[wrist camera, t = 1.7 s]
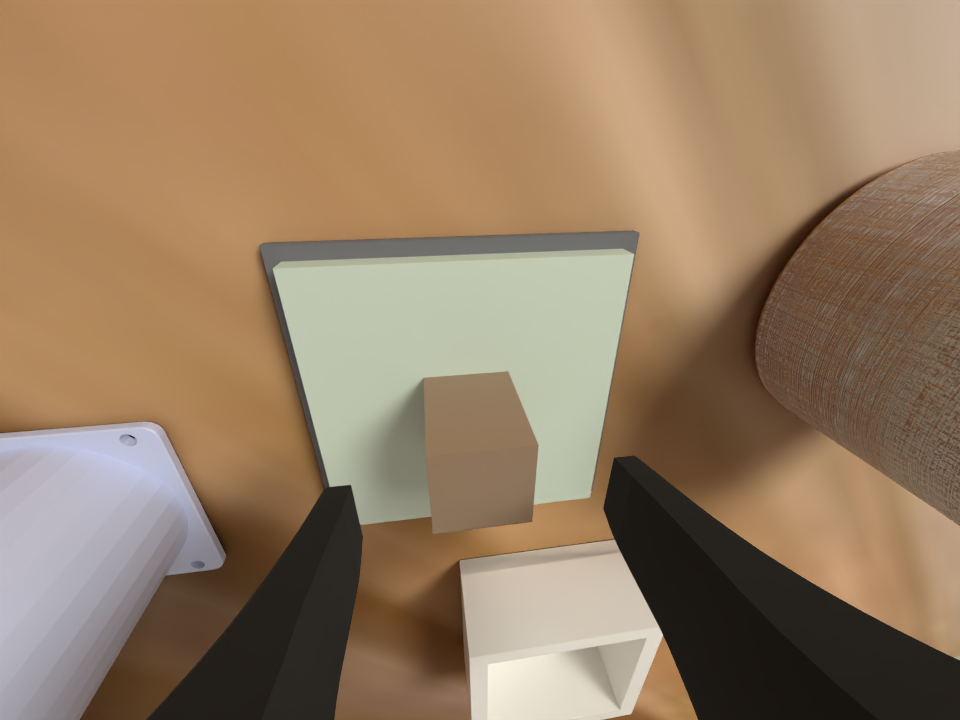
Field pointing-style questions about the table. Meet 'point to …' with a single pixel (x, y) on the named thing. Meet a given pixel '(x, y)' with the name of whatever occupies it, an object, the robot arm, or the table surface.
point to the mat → (427, 247)
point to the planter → (878, 328)
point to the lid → (458, 377)
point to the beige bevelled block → (555, 634)
